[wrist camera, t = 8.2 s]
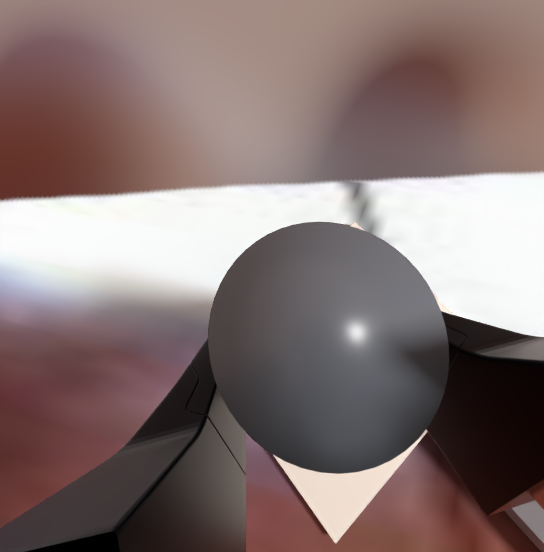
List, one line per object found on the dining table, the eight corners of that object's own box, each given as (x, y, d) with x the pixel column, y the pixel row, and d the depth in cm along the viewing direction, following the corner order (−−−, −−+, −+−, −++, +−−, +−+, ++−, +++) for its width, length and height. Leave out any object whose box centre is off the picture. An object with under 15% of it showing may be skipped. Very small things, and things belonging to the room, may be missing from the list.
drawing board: (333, 535, 15) (335, 543, 14) (202, 349, 18) (199, 350, 17) (487, 349, 18) (494, 349, 18) (353, 223, 22) (355, 220, 21)
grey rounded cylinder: (302, 381, 14) (400, 542, 3) (240, 343, 15) (158, 376, 4) (333, 316, 15) (476, 284, 5) (274, 284, 16) (280, 190, 5)
